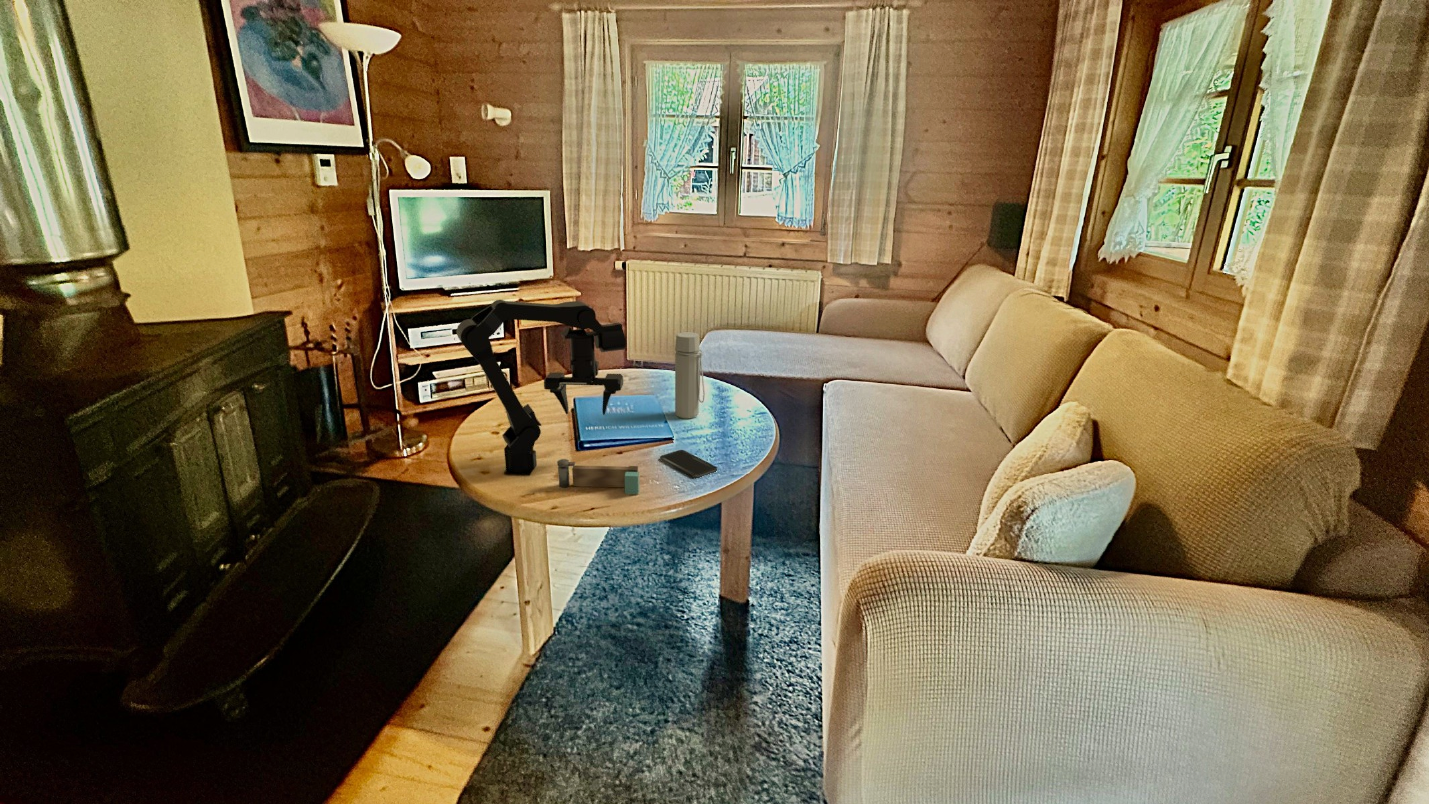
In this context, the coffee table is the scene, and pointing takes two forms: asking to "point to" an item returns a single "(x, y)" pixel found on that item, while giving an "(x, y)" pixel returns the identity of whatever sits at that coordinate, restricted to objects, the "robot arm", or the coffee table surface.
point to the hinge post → (564, 477)
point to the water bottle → (687, 375)
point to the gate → (598, 474)
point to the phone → (688, 464)
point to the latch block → (631, 482)
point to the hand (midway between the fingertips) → (585, 414)
